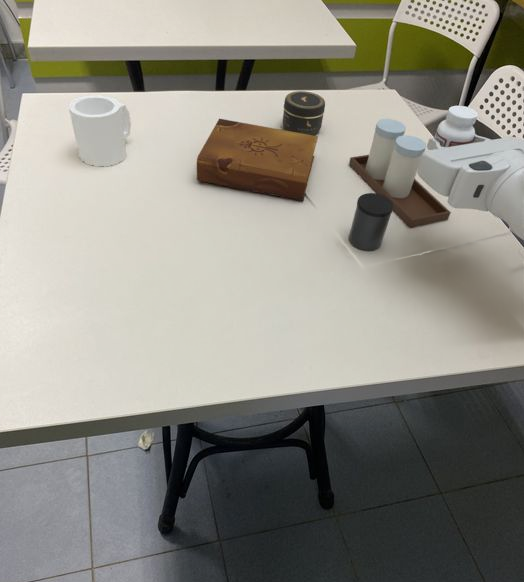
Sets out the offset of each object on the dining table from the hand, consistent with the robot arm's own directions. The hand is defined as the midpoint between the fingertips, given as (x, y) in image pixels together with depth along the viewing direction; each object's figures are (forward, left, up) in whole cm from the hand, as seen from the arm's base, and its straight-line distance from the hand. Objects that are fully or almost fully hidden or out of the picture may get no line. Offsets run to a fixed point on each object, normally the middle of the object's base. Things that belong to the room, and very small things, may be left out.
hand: (448, 139), depth 84 cm
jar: (+3, -45, -20) cm, 50 cm away
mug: (+51, -46, -20) cm, 72 cm away
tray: (-5, -14, -20) cm, 25 cm away
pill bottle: (0, +1, -6) cm, 6 cm away
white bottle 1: (-5, -21, -19) cm, 29 cm away
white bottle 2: (-5, -14, -19) cm, 24 cm away
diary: (+21, -30, -20) cm, 42 cm away
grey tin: (+11, 0, -20) cm, 23 cm away
